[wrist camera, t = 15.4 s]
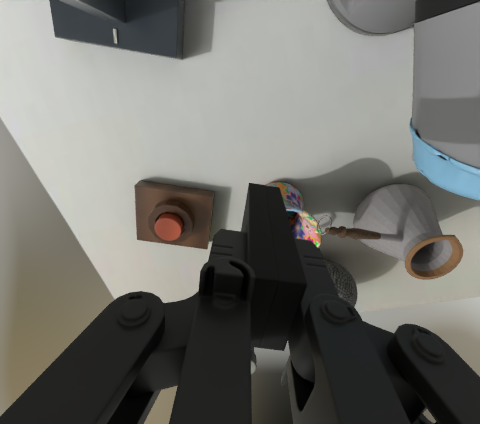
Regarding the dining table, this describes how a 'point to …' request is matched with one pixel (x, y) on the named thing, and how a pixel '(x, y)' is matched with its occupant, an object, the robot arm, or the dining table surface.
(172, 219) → the button
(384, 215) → the coffee pot
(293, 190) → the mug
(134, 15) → the panel
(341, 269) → the decorative ball
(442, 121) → the robot arm
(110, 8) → the tap handle
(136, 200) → the button block
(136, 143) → the dining table surface
